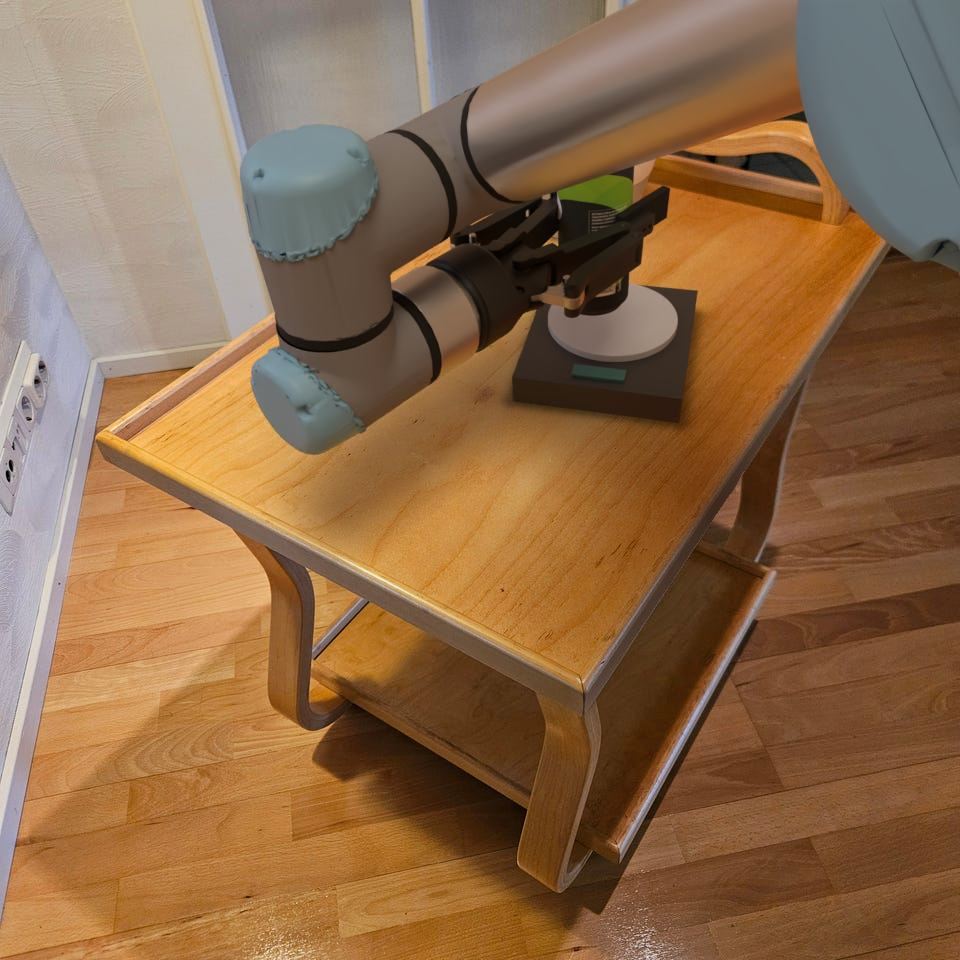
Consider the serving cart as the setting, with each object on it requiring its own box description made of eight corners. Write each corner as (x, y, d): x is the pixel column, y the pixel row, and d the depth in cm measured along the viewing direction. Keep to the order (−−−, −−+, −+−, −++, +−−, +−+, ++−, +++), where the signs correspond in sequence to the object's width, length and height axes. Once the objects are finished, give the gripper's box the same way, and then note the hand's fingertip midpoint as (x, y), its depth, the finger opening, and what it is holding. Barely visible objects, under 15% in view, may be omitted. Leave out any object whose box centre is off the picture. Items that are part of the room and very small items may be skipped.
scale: (694, 314, 90) (698, 283, 87) (678, 423, 78) (683, 391, 75) (548, 299, 93) (549, 269, 90) (512, 401, 81) (511, 370, 78)
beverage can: (638, 291, 76) (648, 125, 66) (610, 325, 72) (615, 155, 62) (577, 277, 79) (577, 116, 69) (547, 310, 75) (542, 144, 65)
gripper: (378, 310, 68) (562, 203, 79) (537, 400, 59) (720, 265, 70) (364, 226, 63) (564, 124, 74) (537, 311, 54) (735, 180, 65)
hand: (640, 193), depth 72 cm, fingers closed on beverage can, 4 cm apart
